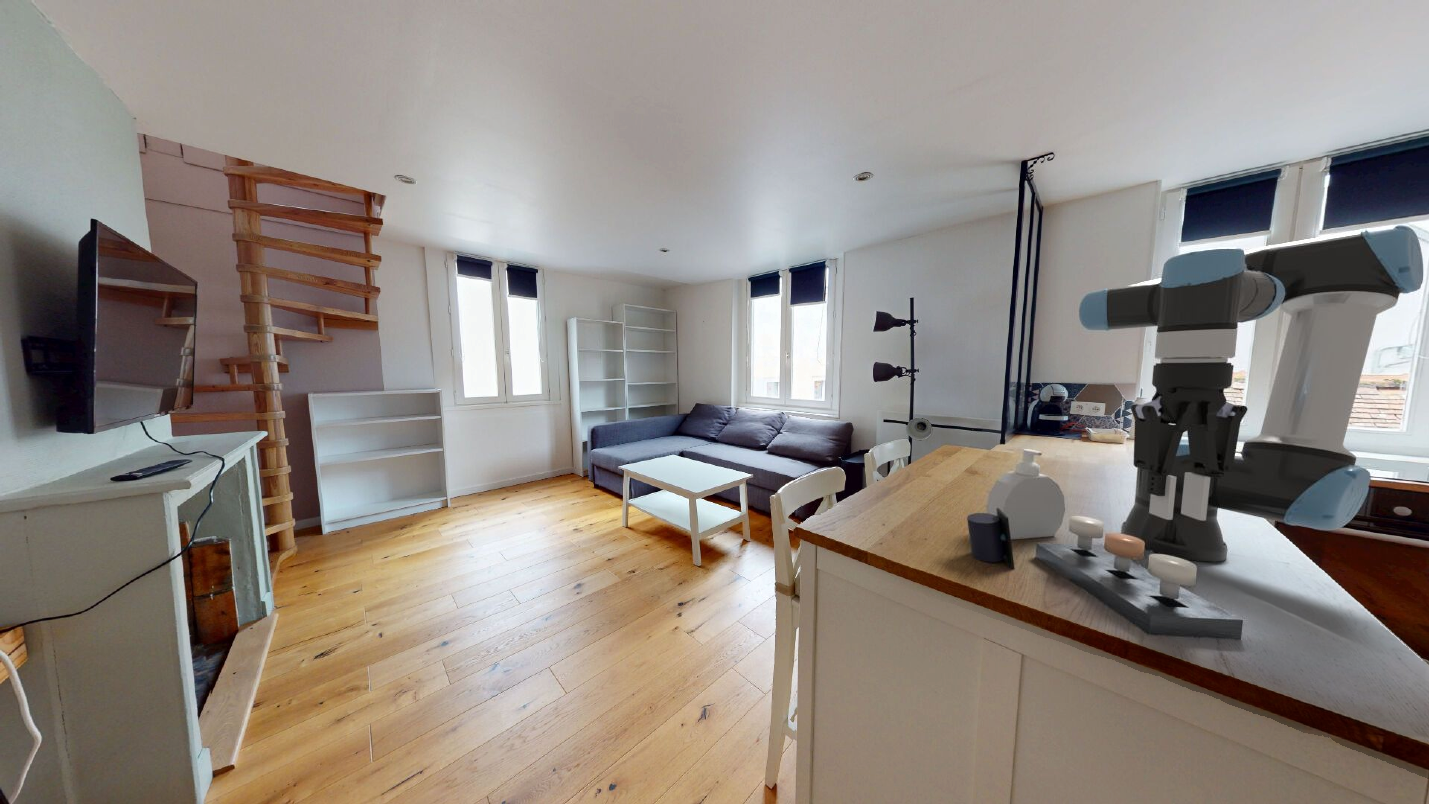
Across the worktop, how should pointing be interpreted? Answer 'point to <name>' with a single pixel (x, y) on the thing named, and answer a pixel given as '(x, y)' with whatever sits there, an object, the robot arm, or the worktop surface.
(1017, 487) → the soap bottle
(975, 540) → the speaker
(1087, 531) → the knob
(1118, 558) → the knob middle
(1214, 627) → the mount
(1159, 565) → the knob
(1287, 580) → the worktop surface
